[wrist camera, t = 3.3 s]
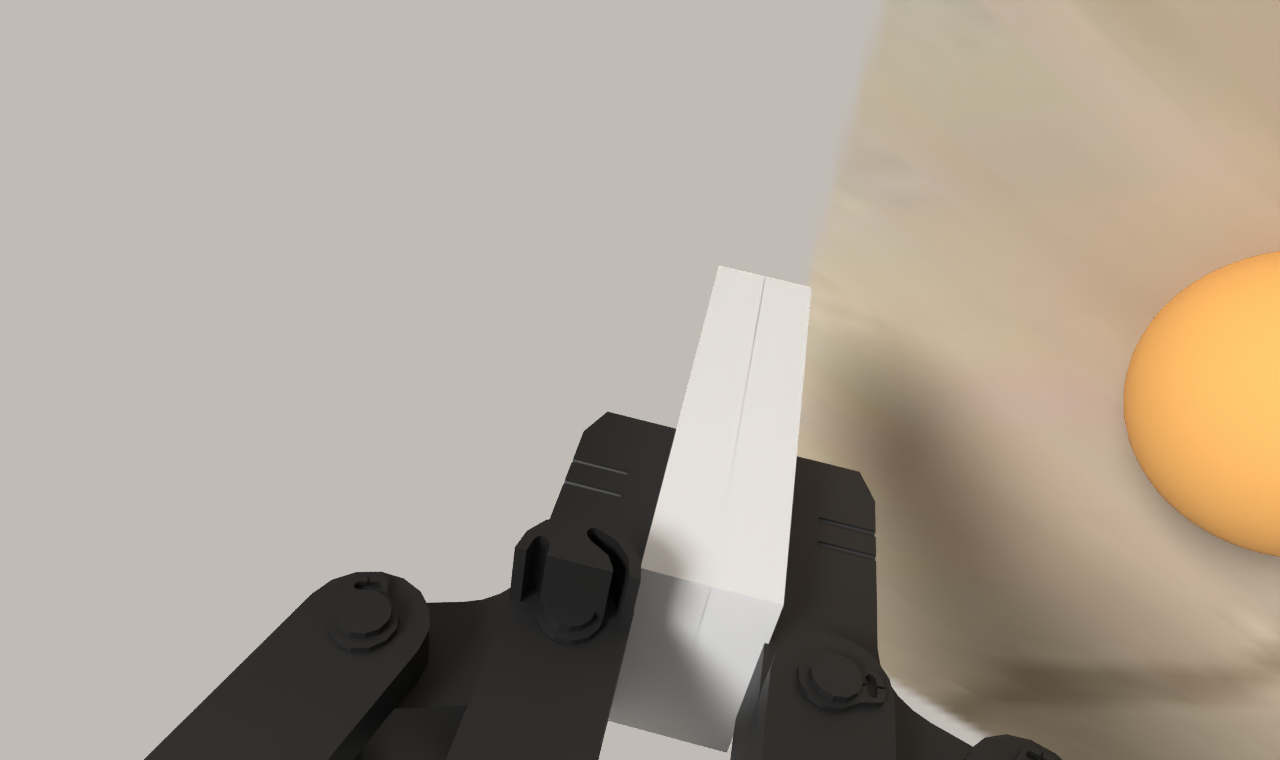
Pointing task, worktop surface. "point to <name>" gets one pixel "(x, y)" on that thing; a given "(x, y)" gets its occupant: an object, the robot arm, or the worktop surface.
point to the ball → (1214, 403)
